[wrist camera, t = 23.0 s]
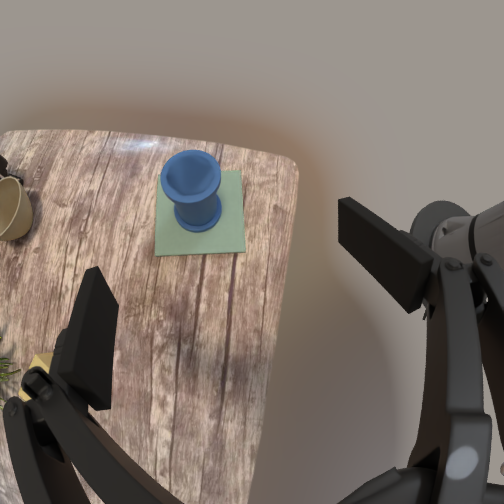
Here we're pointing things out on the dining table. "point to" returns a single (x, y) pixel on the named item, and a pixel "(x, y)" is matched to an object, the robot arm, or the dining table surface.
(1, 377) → the potted plant
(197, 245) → the mat
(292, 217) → the dining table surface
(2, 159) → the battery charger
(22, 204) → the beige round container
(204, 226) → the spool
